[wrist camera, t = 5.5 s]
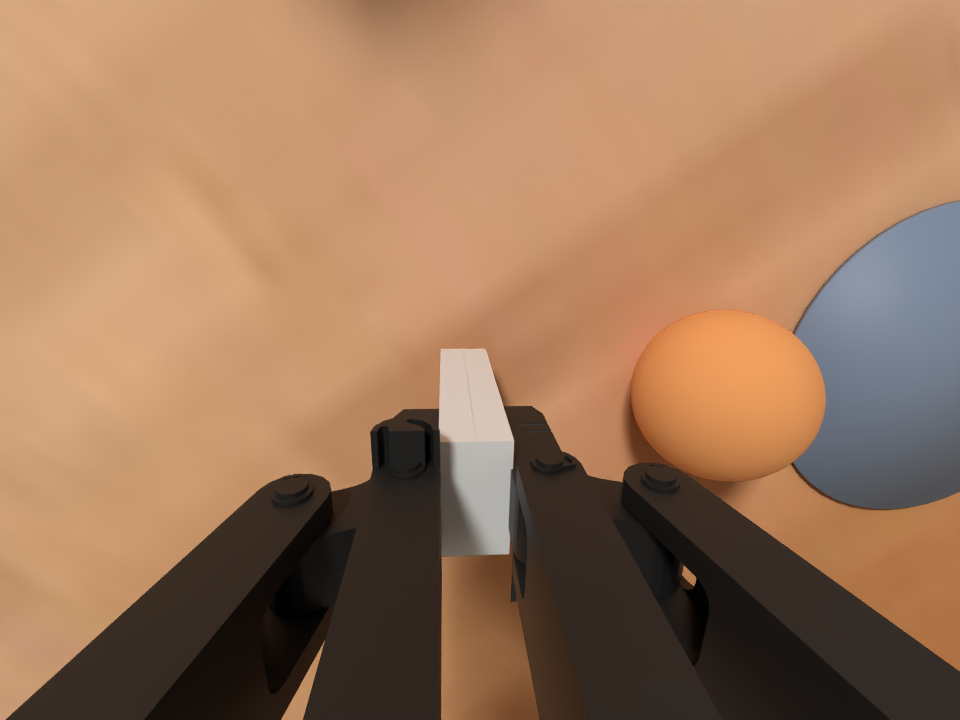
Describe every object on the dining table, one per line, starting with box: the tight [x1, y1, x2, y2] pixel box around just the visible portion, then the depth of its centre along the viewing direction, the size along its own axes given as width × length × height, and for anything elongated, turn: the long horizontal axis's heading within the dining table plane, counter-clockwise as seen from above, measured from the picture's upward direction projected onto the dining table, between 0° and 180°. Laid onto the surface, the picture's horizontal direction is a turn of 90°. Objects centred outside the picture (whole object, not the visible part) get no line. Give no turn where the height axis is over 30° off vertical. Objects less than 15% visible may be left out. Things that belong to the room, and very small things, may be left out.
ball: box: [631, 310, 826, 482], centre depth 15 cm, size 6×6×6 cm
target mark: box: [792, 201, 960, 509], centre depth 18 cm, size 13×13×1 cm
